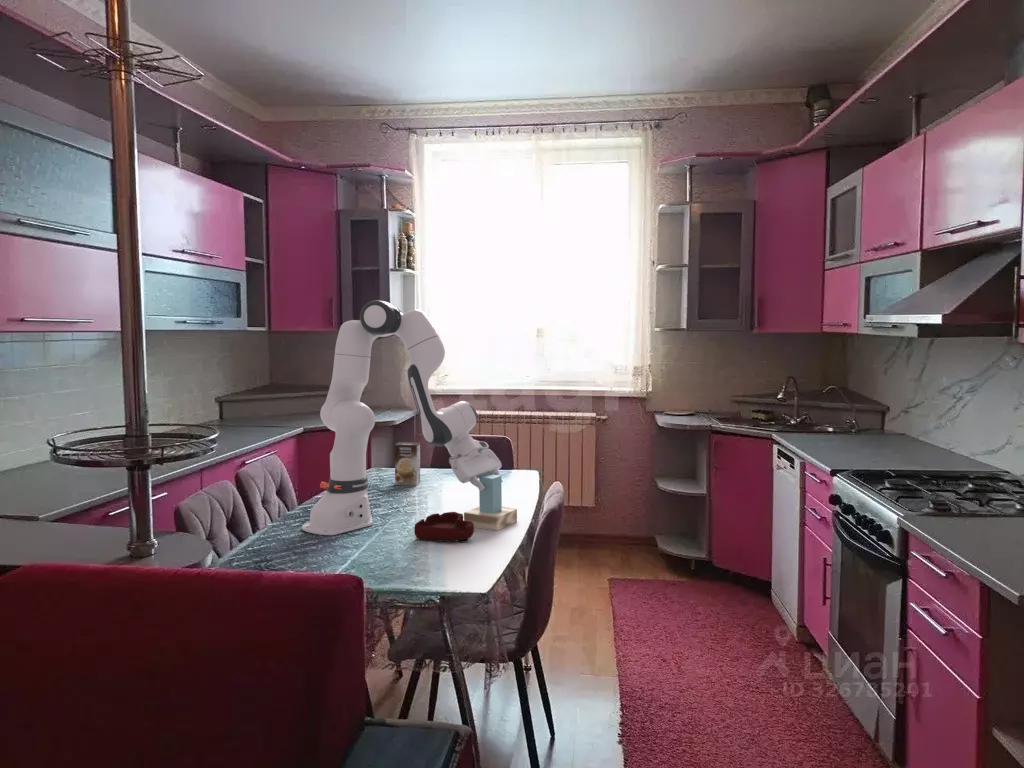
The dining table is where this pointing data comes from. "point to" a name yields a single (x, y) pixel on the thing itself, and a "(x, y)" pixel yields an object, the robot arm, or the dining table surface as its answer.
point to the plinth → (491, 518)
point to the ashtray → (444, 528)
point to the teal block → (491, 494)
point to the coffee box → (407, 463)
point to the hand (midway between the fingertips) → (492, 486)
